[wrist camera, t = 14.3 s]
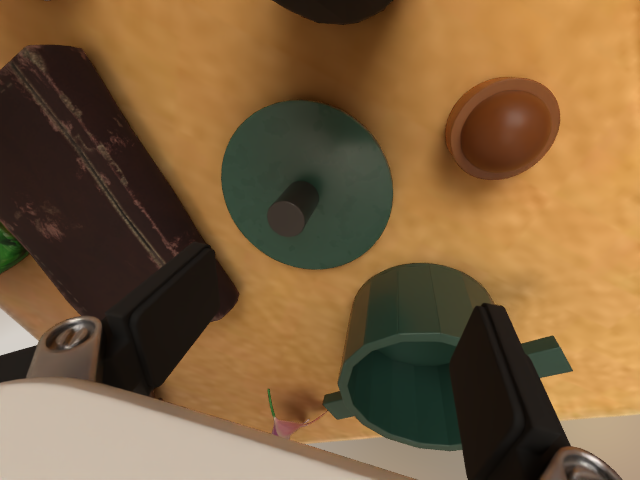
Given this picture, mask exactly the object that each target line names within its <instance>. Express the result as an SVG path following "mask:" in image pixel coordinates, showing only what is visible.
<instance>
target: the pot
mask: <svg viewBox="0 0 640 480" xmlns="http://www.w3.org/2000/svg"><path fill="white" fill-rule="evenodd" d="M482 303H489V304H494V303H493V301H492V299H491V297H490V295H489V294H488V292H487V291H486V289H484V288H483V287H482V286H481V285H480V284H479V283H478V282H477V281H476V280H474V279H473V278H472V277H470V276H468V275H466V274H465V273H463V272H460V271H458V270H456V269H453V268H450V267H446V266H443V265H437V264H429V263H412V264H405V265H400V266H396V267H392V268H390V269H387V270H384V271H382V272H380V273H379V274H377V275H375V276H374V277H372V278H371V279H369V280H368V281H367V282H366V283H365V284H364V285H363V286H362V288H361V289H360V290H359V292H358V293H357V295H356V297H355V300H354V302H353V307H352V311H351V314H350V319H349V325H348V330H347V336H346V341H345V346H344V352H343V357H342V362H341V368H340V373H339V379H338V387H339V390H340V391H338V392H334V393H330V394H326V395H325V396H324V400H323V406H324V407H325V408H326V409H327V410H328V411H329V412H330V413H331V414H332V415H333V416H334V417H335V418H336V419H337V420H338V419H343V418H348V417H353V416H355V417H356V418H357V419H358V420H359V421H360V422H361V423H362V424H363V425H365V426H366V427H368V428H370V429H371V430H373V431H375V432H377V433H378V434H380V435H382V436H384V437H385V438H388V439H391V440H394V441H397V442H400V443H404V444H407V445H410V446H413V447H418V448H424V449H435V450H445V451H456V450H462V444H461V438H460V432H459V426H458V420H457V414H456V408H455V402H454V395H453V389H452V383H451V377H450V371H449V364H450V360H451V357H452V355H453V353H454V351H455V349H456V346H457V344H458V342H459V340H460V338H461V336H462V333H463V331H464V329H465V327H466V325H467V322H468V320H469V318H470V316H471V314H472V311H473V309H474V307H475V306H481V304H482ZM494 305H495V304H494ZM521 345H522V348H523V350H524V352H525V354H527V355H528V356H529V357H530V359H531V360H532V362H533V365H534V367H535V369H536V371H537V373H538V376H539V378H542V377H547V376H552V375H557V374H562V373H566V372H571V371H573V370H572V368H571V366H570V364H569V362H568V361H567V359H566V357H565V355H564V353H563V351H562V349H561V348H560V346H559V344H558V343H557V341H556V339H555V337H554V336H549V337H545V338H541V339H538V340H534V341H530V342H526V343H522V344H521Z"/></svg>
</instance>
